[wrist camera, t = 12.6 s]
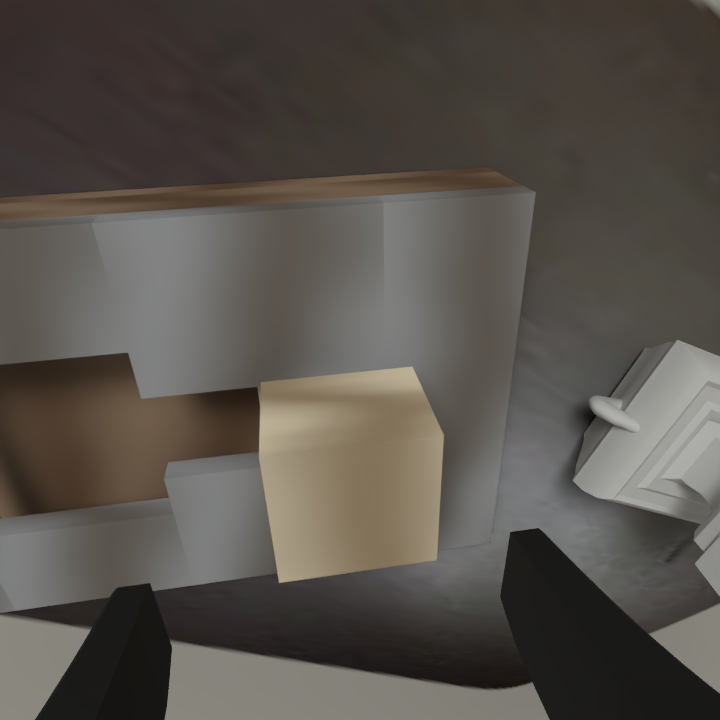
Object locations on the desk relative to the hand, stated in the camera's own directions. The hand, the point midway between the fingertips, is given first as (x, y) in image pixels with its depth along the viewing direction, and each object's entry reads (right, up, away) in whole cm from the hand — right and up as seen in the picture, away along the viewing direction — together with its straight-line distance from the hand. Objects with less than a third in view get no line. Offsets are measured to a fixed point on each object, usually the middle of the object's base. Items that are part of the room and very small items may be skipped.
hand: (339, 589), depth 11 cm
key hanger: (-1, +5, +8) cm, 9 cm away
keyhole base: (-4, +4, +8) cm, 10 cm away
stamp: (+13, +3, +12) cm, 18 cm away
